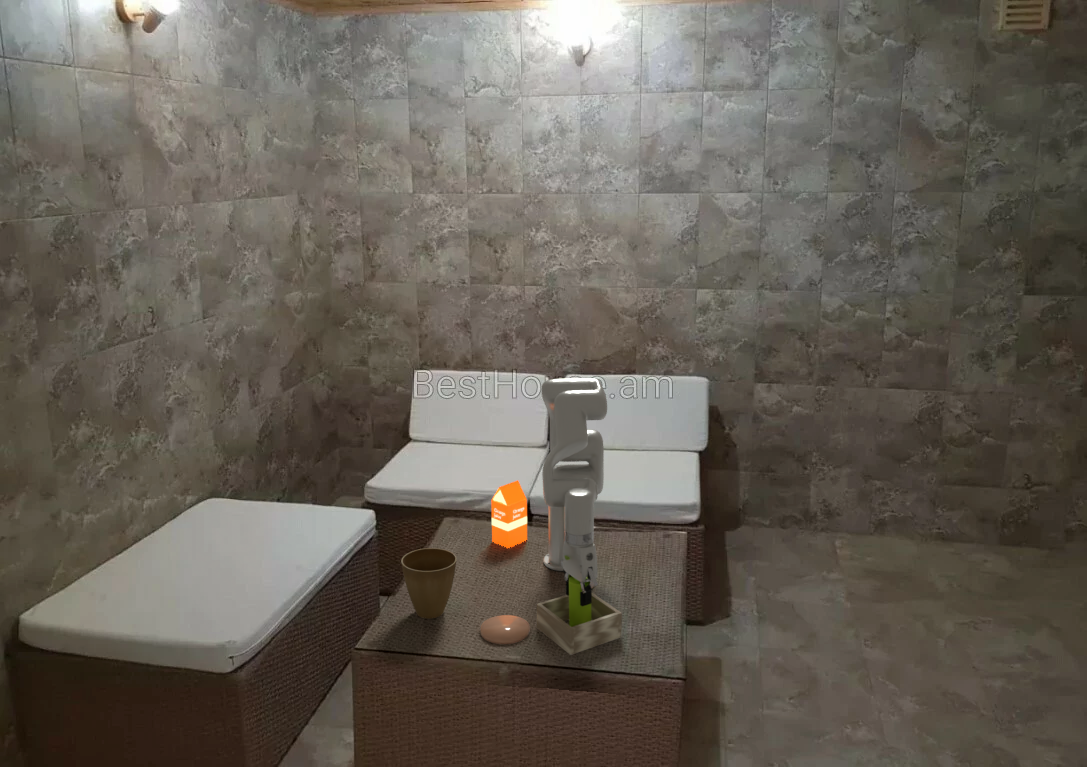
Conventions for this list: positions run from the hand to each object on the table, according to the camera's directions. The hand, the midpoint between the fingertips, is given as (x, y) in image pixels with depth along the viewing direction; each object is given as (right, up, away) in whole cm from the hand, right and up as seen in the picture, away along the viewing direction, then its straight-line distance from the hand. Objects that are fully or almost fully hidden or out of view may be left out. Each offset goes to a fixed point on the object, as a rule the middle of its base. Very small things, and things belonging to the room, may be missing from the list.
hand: (578, 598), depth 236 cm
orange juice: (-20, +5, +58) cm, 62 cm away
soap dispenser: (0, -8, +2) cm, 8 cm away
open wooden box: (0, -9, +2) cm, 9 cm away
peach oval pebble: (-19, -9, +3) cm, 22 cm away
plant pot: (-40, -7, +13) cm, 43 cm away
